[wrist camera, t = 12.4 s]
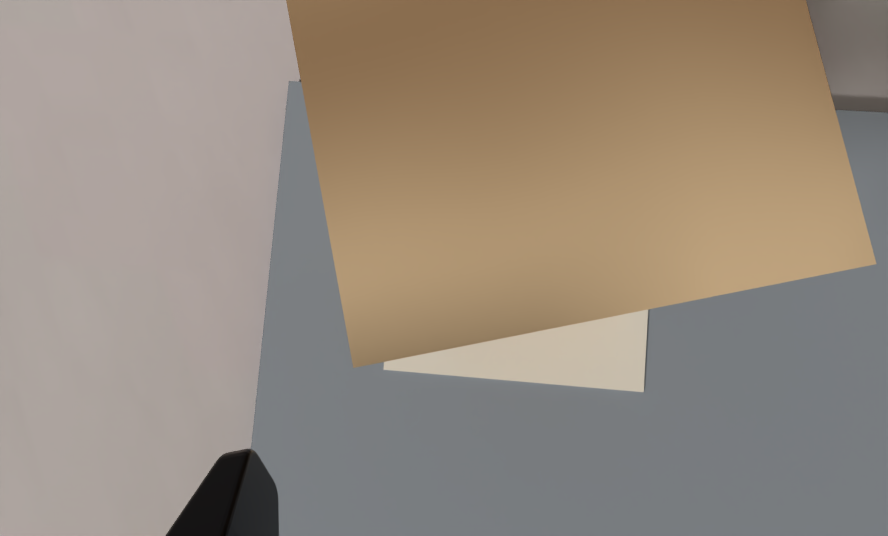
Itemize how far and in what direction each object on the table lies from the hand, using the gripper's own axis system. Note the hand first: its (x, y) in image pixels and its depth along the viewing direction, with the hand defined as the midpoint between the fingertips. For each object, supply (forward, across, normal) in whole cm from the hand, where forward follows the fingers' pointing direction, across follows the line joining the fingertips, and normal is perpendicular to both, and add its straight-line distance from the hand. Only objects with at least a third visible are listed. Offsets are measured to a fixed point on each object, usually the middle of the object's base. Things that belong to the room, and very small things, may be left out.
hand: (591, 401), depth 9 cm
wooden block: (+9, 0, +4) cm, 10 cm away
